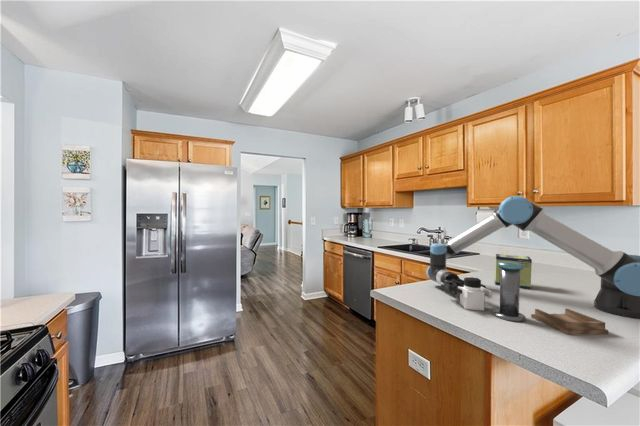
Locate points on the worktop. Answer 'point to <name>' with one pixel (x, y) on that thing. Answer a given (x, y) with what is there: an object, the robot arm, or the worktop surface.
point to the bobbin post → (509, 292)
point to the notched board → (571, 322)
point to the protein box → (524, 273)
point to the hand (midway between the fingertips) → (479, 294)
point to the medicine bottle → (473, 294)
